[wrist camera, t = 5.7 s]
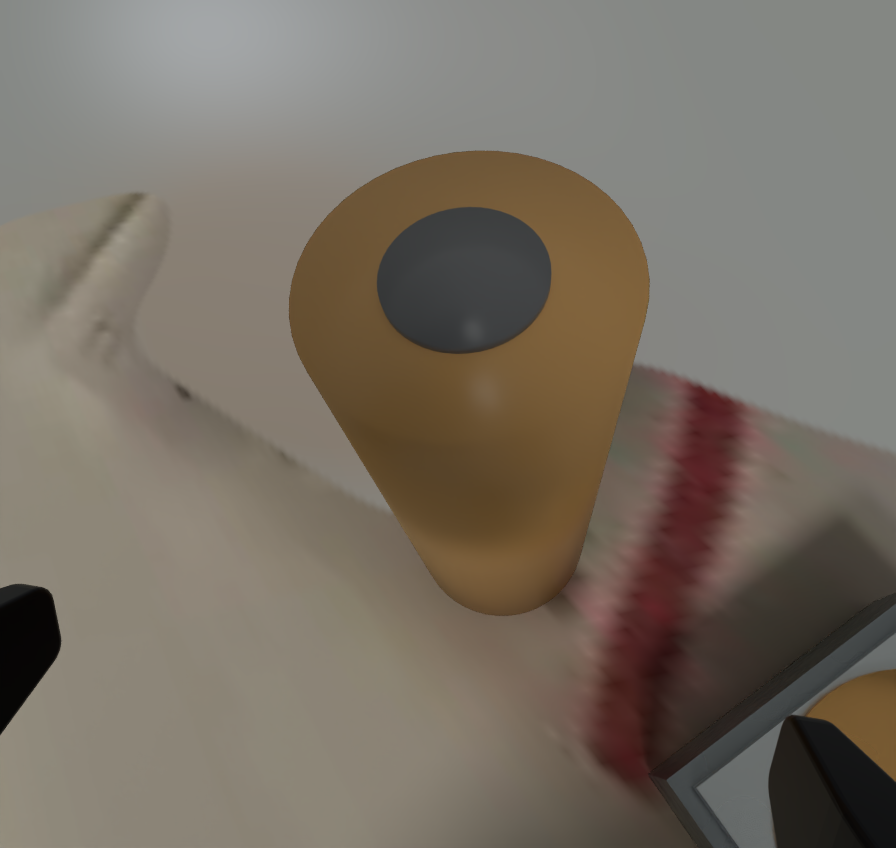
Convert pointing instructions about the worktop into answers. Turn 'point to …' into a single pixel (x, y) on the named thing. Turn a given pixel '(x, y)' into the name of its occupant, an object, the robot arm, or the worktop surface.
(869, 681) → the unit
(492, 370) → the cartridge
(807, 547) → the worktop surface
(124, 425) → the worktop surface
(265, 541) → the worktop surface
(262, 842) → the worktop surface
